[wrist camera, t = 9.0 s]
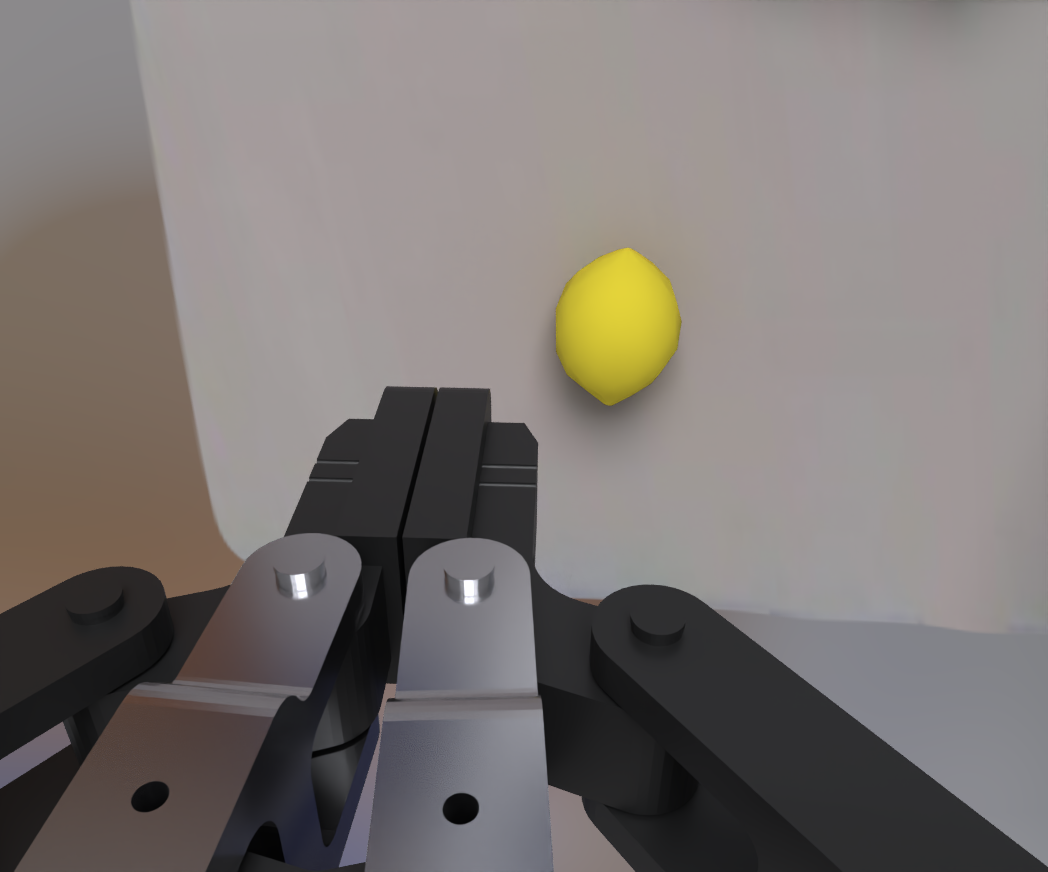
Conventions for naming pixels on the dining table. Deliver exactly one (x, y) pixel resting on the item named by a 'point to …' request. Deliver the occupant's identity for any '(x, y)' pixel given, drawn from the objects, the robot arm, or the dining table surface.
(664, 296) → the lemon
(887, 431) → the dining table surface
